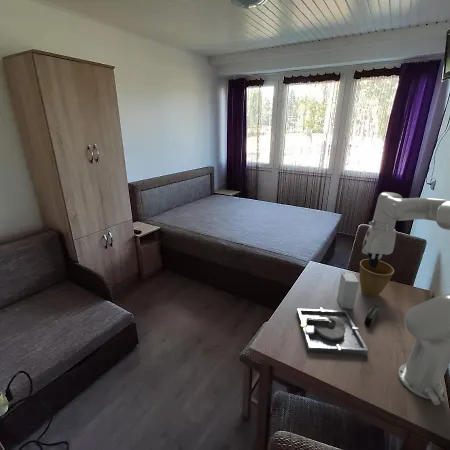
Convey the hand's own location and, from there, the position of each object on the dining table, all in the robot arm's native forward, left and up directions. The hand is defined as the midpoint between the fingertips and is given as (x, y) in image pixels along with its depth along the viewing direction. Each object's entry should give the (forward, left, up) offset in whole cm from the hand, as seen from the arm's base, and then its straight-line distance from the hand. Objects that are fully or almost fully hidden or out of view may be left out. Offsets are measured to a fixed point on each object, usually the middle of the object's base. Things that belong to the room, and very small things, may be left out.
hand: (372, 266), depth 108 cm
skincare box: (+11, +2, -27) cm, 30 cm away
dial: (-9, +18, -25) cm, 32 cm away
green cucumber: (+1, -6, -28) cm, 28 cm away
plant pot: (+20, -14, -27) cm, 37 cm away
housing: (-9, +16, -27) cm, 33 cm away
